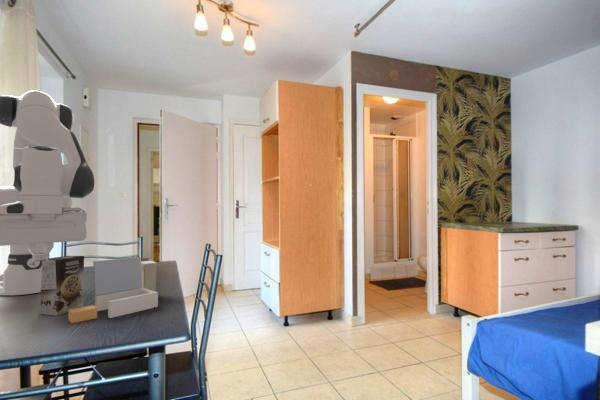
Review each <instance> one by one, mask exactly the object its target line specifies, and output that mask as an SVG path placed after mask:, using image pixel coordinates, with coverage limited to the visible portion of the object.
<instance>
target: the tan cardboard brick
mask: <svg viewBox="0 0 600 400" xmlns="http://www.w3.org/2000/svg"><path fill="white" fill-rule="evenodd" d="M67 315H68V317H67V318H68V319H67V320H68V321H69V322H70V324H74V323H80V322H84V321H89V320H93V319H97V318H98V311H97V308H96V307H95V304H93V305H92V304H91V305H87V306H86V305H85V306H83V307H80V308H75V309H69V312H67Z"/></svg>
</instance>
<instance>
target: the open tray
mask: <svg viewBox="0 0 600 400" xmlns="http://www.w3.org/2000/svg"><path fill="white" fill-rule="evenodd" d="M158 304H159V292H158V291H156V292H155V291H152V290H149V289H145V288H142V287H140V288H135V289H129V290H124V291H118V292H113V293H107V294H102V295H97V296H95V295H94V306H95V307H96V308H97V312H102V311H105V310H107V318H108V319H112V318H116V317H120V316H125V315H128V314H133V313H137V312H141V311H145V310H149V309H154V307H155V308H158V307H159V305H158Z"/></svg>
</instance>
